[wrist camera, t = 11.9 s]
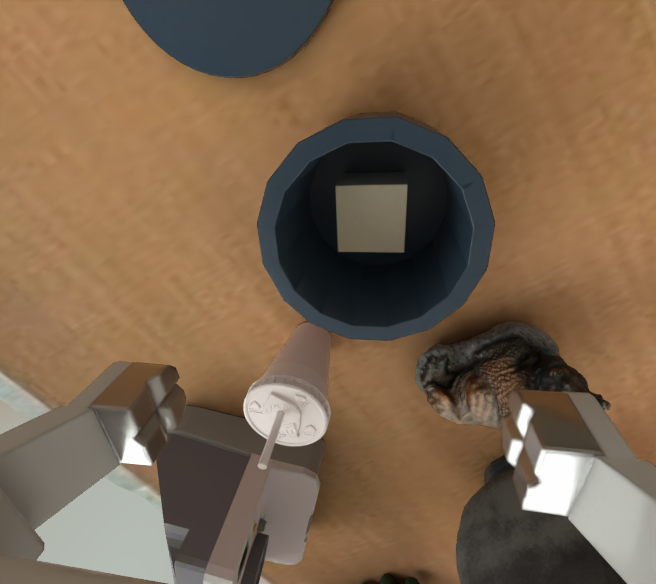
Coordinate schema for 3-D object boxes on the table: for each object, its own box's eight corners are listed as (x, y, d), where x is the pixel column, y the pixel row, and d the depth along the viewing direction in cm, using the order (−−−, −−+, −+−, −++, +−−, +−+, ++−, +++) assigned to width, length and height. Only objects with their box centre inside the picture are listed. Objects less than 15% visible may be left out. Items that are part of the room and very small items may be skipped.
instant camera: (300, 535, 51) (268, 686, 38) (164, 486, 50) (84, 621, 37) (351, 447, 40) (331, 614, 27) (179, 385, 40) (75, 523, 27)
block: (345, 231, 28) (337, 252, 24) (343, 173, 26) (334, 185, 22) (402, 231, 27) (404, 252, 23) (405, 171, 25) (407, 183, 21)
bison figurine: (436, 397, 35) (450, 497, 26) (397, 347, 33) (398, 437, 24) (565, 347, 30) (636, 449, 21) (529, 284, 28) (591, 368, 19)
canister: (305, 271, 30) (273, 335, 22) (291, 116, 25) (241, 124, 17) (451, 274, 28) (474, 345, 20) (471, 107, 23) (515, 110, 15)
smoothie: (332, 303, 32) (293, 430, 19) (353, 358, 34) (332, 502, 22) (268, 317, 33) (197, 441, 21) (293, 369, 36) (243, 506, 24)
